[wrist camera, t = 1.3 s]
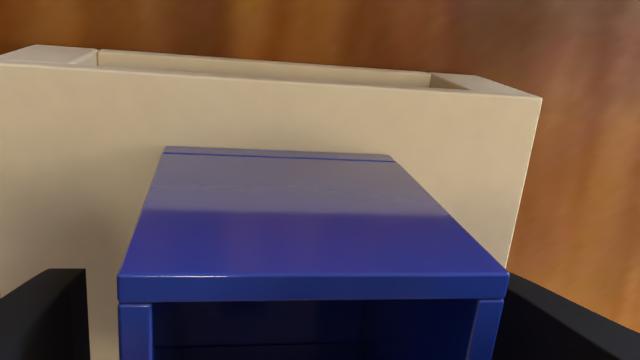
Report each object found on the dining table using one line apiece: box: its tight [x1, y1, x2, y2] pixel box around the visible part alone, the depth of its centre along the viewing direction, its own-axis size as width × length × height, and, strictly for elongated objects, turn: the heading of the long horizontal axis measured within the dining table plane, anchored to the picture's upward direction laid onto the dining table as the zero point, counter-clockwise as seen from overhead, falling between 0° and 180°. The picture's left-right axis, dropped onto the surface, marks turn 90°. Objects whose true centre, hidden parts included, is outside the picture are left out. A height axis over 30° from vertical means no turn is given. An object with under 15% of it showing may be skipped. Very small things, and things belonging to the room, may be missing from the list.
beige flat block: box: [0, 45, 542, 360], centre depth 14 cm, size 8×12×4 cm, turn 86°
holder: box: [117, 146, 510, 360], centre depth 10 cm, size 5×5×6 cm
